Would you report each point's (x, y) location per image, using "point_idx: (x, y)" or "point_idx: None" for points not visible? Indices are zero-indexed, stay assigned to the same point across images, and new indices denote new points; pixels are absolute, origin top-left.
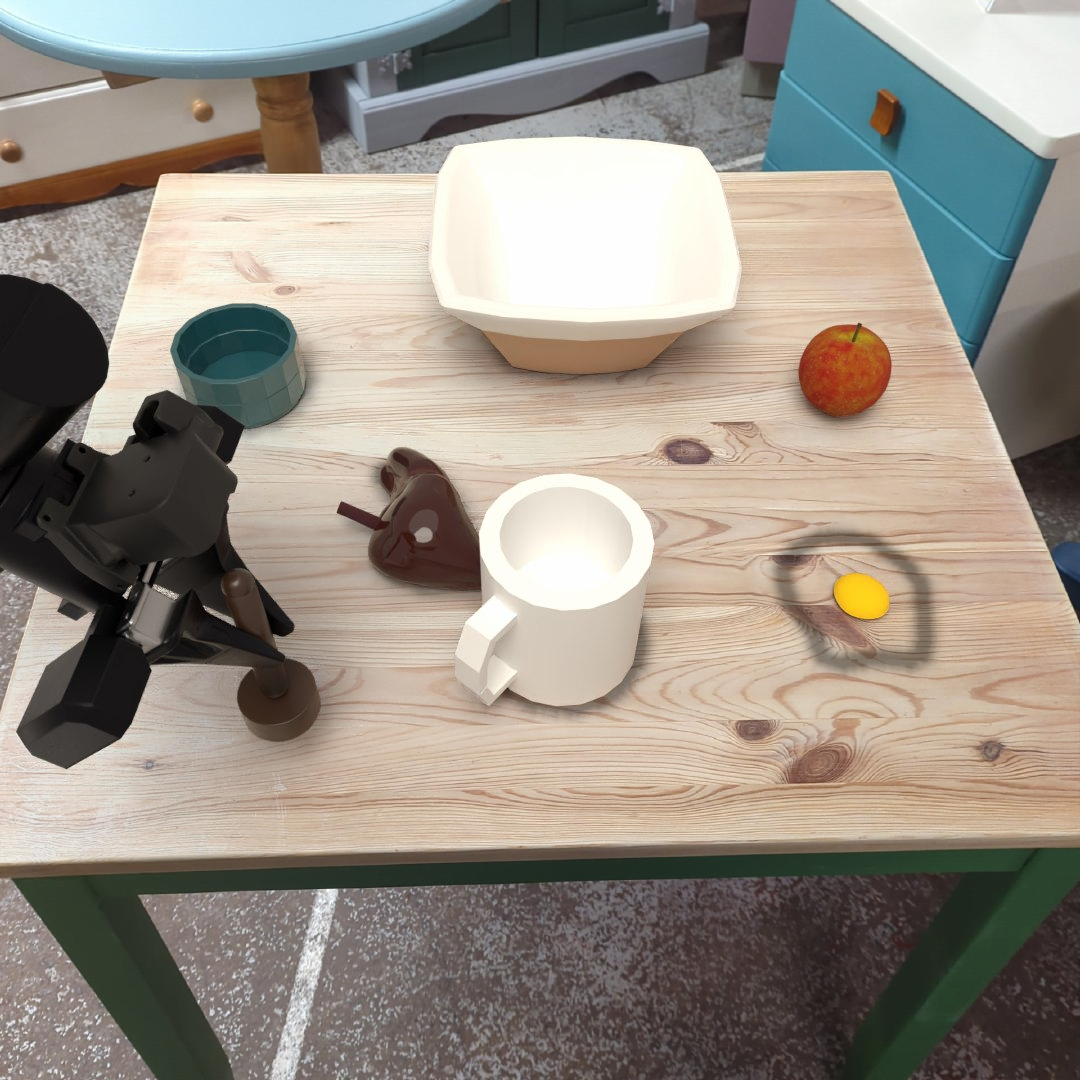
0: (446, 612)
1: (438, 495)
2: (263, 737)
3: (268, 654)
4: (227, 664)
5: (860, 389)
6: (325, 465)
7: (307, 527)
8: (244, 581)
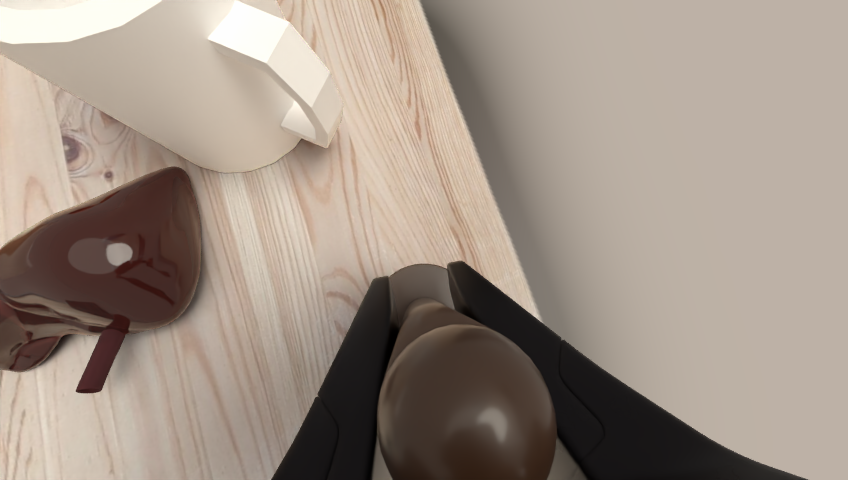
0: (231, 216)
1: (31, 239)
2: None
3: (481, 280)
4: None
5: None
6: (23, 453)
7: (139, 426)
8: (488, 368)
